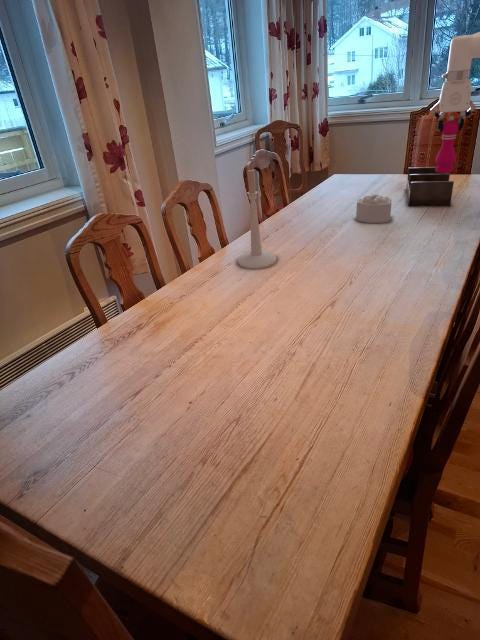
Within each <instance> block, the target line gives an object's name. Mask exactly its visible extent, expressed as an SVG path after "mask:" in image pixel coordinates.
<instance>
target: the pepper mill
mask: <svg viewBox="0 0 480 640" xmlns="http://www.w3.org/2000/svg"><path fill="white" fill-rule="evenodd" d="M458 129H459V121H457V120H455V116H454V115H450V116H449V117H448V120H447V121H445V122H443V126H442V131H441V133H442V134H441V139H442V143H441V147H440V149H439V151H438V153H437V154H436V157H435V163H436V166H435V167H436V172H439V173H446V174H448V173H452V172H453V171H454V164H455V163H456V161H457V155H456V151H455V146H454V144H455V139H456V138H457V132H458V131H459V130H458Z"/></svg>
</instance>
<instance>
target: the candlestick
mask: <svg viewBox="0 0 480 640" xmlns="http://www.w3.org/2000/svg"><path fill="white" fill-rule="evenodd" d="M255 179H256V178H255V169H248V170H247V183H248V191H247V192H246V194H247V195H248V196H247V197H248V200H249V201H250V202H249V215H250V217H249V219H250V222H249V223H250V251H248V252H246V253H244V254H242V255H241V256H240V257H239V258H238V260H237V263H238V265H239V266H240V267H241V268H245V269H250V270H258V269H265V268H268V267H270V266H273V265H274V264H275V263H276V262H277V257H276V255H275V254H273V253H272V252H269V251H266V250H262V248H263V247H262V241H261V234H260V233H261V232H260V225H259V216H258V208H257V203H256V199H257V198H258V193H259V191H257V190H256V180H255Z"/></svg>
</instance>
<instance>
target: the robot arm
mask: <svg viewBox="0 0 480 640" xmlns="http://www.w3.org/2000/svg"><path fill="white" fill-rule="evenodd" d="M449 44H450V46H449V53H448V61H447V67H446V72H445V73H442V74H441V79H445V81H443V83H442V86H441V90H440V94H439V99H438V102H436V103H435V104H434V105H433V107H431V108H430V110H429V111H430V112H431V113H432V115H434V116H435V118H436V119H437V120H438V121H437V129H436V130H438V132H439V133H442V126H443V124H444V120H443V118H444V117H445V114H446V113H455V112H457V113H458V112H459V113H460V118H459V119H458V124H459V129H458V131H460V132H461V131H462V129H463V128H464V124H465V119H466V118H467V117H468V116H469V115H470V114H471V113H472V112H473V111H475V110H476V109H477V106H476V105H475V103H474V102H473V101H472V100H471V94H472V79H470V73H471V67H472V61H473V59H480V31H478V32H475V33H473V34H463V35H457V36H454V37H452V39H451V40H450V43H449ZM437 109H438V111H439V113H438V112H437Z"/></svg>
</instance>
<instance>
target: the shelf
mask: <svg viewBox="0 0 480 640" xmlns="http://www.w3.org/2000/svg"><path fill="white" fill-rule="evenodd" d="M450 176H451V172H449V173H439V172H436V166H424V167H423V166H422V167H421V166H419V167H418V166H417V167H408V169H407V180H406V189H405V190H406V197H407V206H408V207H450V206H451V203H452V197H453V196H452V195H453V189H454V183H455V181H454V180H450Z"/></svg>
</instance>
